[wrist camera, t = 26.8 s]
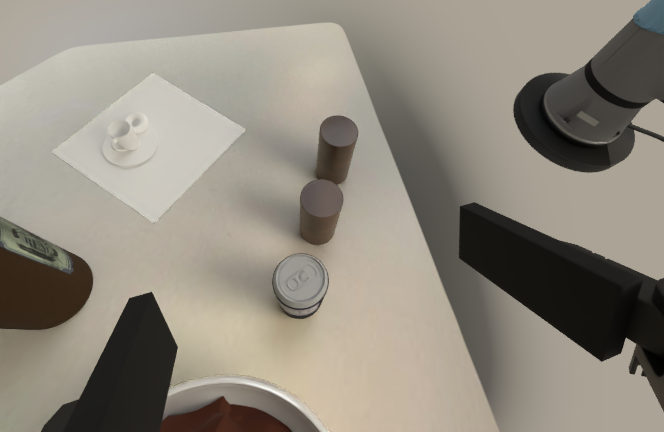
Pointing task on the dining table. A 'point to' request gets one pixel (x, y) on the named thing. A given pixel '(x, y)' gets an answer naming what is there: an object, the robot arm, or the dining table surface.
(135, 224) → the dining table surface
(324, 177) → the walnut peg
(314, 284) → the beverage can
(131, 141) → the teacup and saucer
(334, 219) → the walnut peg middle
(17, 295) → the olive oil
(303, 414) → the white serving bowl
